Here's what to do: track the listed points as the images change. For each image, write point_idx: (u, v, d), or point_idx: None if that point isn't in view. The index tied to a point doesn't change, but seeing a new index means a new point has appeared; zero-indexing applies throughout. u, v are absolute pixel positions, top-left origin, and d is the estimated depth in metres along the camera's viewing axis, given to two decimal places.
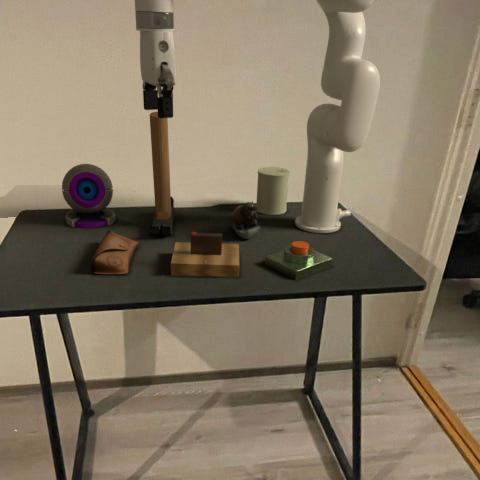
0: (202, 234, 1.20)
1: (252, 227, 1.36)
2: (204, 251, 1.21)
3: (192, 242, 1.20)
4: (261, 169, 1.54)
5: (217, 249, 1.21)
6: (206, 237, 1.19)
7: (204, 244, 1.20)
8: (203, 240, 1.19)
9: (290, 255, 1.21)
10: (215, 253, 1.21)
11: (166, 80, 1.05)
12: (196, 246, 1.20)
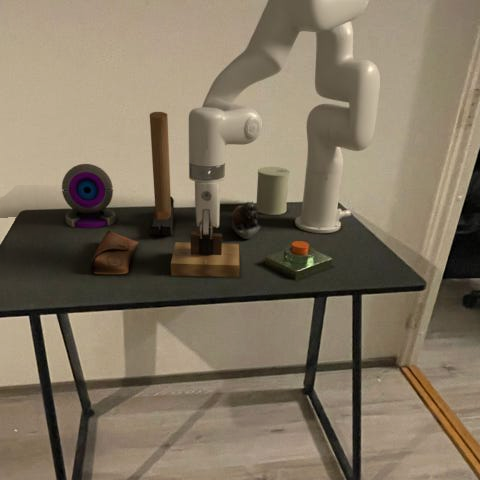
0: None
1: (252, 227, 1.36)
2: None
3: (192, 242, 1.20)
4: (261, 169, 1.54)
5: (217, 249, 1.21)
6: None
7: None
8: None
9: (290, 255, 1.21)
10: (215, 253, 1.21)
11: None
12: (196, 246, 1.20)
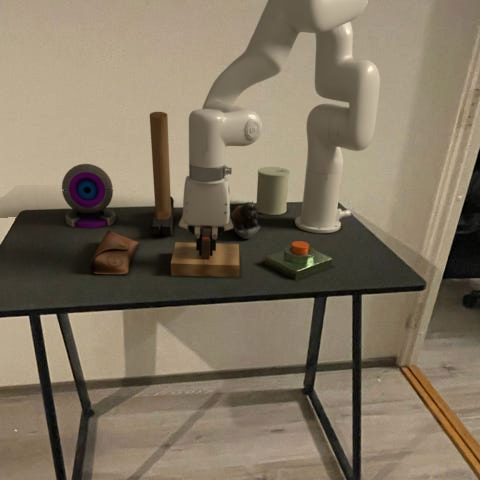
0: (206, 235, 1.19)
1: (252, 227, 1.36)
2: None
3: (209, 246, 1.18)
4: (261, 169, 1.54)
5: None
6: (210, 235, 1.20)
7: None
8: None
9: (290, 255, 1.21)
10: None
11: (228, 227, 1.18)
12: None
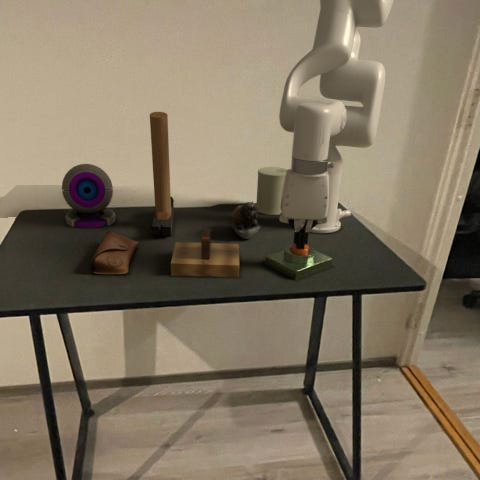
0: (206, 235, 1.19)
1: (252, 227, 1.36)
2: None
3: (209, 246, 1.18)
4: (261, 169, 1.54)
5: (210, 243, 1.23)
6: (210, 235, 1.20)
7: None
8: None
9: (290, 255, 1.21)
10: (210, 248, 1.24)
11: (322, 221, 1.19)
12: None
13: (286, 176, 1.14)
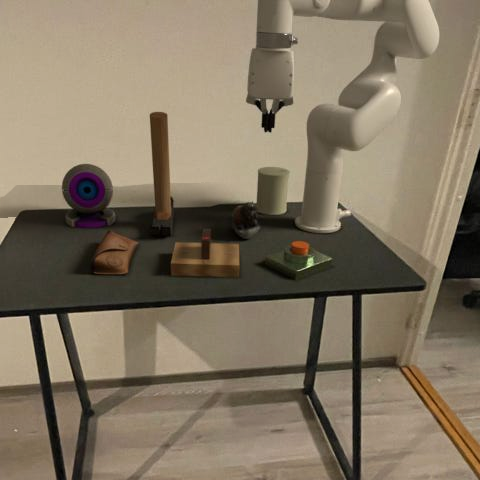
0: (206, 235, 1.19)
1: (252, 227, 1.36)
2: None
3: (209, 246, 1.18)
4: (261, 169, 1.54)
5: (210, 243, 1.23)
6: (210, 235, 1.20)
7: None
8: None
9: (290, 255, 1.21)
10: (210, 248, 1.24)
11: (288, 102, 1.20)
12: None
13: (251, 53, 1.15)
